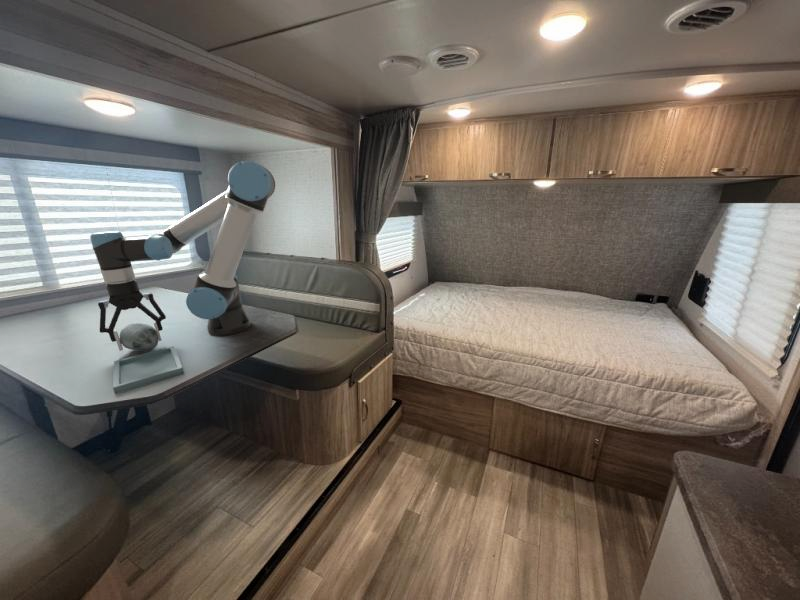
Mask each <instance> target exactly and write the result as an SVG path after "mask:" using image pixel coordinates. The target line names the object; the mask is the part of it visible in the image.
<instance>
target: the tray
mask: <svg viewBox="0 0 800 600" xmlns="http://www.w3.org/2000/svg"><path fill="white" fill-rule="evenodd" d="M113 361H114V362H113V383H112V385H113V386H112V388H113V391H114V394H115V395H117V394H121V393H124V392H128V391H130V390H134V389H137V388H140V387H144V386H147V385H150V384H153V383H157V382H160V381H163V380H167V379H170V378H173V377H177V376H180V375H183V374H184V373H185V372H184V369H183V365H182V363H181V360H180V358H179V354H178V352H177V350H176V348H175V346H174V345H173V346H169V347H165V348H159V349H157V350H153V351H148V352H145V353H141V354H138V355H133V356H130V357H126V358H122V359H117V360H113Z"/></svg>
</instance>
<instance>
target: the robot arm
mask: <svg viewBox="0 0 800 600" xmlns="http://www.w3.org/2000/svg"><path fill="white" fill-rule="evenodd" d="M275 180H276V179H275V178H274V176H273V174H272V173H271V171H269V169H268V168H266V167H265V166H263V165H262V164H260V163H258V162H255V161H253V160H252V161H251V160H242V161H239V162H237V163H235V164H234V165H232V166H231V167H230V169H229V171H228V176H227V182H228V186H227V189H226V190H225V191H223V192H221V193H220V194H218V195H216V197H214V198H212V199H211V200H209V201H208V202H206V203H205V204H203V205H202V206H200V207H199V208H197V209H195V210H193V211H192V212H190V213H189V214H187V215H186V216H183V218H181V219H180V220H178V221H176V222H175V223H173V224H172V225H170V226H169V227H167V228H165V229H164V230H162V231H160V232H159V233H155V234H151V235H145V236H133V237H125V236H124V235H123V233H122V232H121V231H113V230H112V231H100V232H94V233H91V235H90V242H91V246H92V250H93V251H94V254H95V257H96V260H97V262H98V266H99V268H100V272H101V274H102V279H103V281H104V283H106V284H105V287H106V291H107V293H108V296H109V299H106V300H99V301H98V302H97V303H98V304H97V306H98V307H99V310H100V315H99V316H100V318H99V333H100V334H101V333H102V334H103V333H106V334H108V335H109V339H110V341H111V342H112V343H114V342H116V344H117V347H118V350H119V351H120V352H121V351H123V350H124V349H123V348H124V346H123V345H122V344H121V341H120V334H119V333H118V330H117V329H115V327H116V324H117V322H118V321H119V317H120V315H121V312H122V311H127V310H130V309H131V310H132V309H136V308H138V309H139V310H141V312H143V313H144V314H146V315H147V316H148V317H150V318H151V319H152V320H153V325H154V329H155V330H156V332H157V334H158V339H159V340H158V342H160V341H162V337H161V334H160V331H163V326H162V321H163V320H165V319H166V318H167V317H166V315H165V313H164V312H163V310H162V309H161V307H160V306H159V304H158V303H157V302H156V300H155V298H154V295H153V293H152V292H147V293H142V292H141V291H140V288H139V284H138V281H137V280H136V279H135V278H136V276H135V275H136V274H135V272H134V269H133V266H132V263H133V262H146V261H156V262H157V261H161V260H169V259H171V258H172V255H173V254H176V253H178V252H180V250H181V249H182V248H184V247H185V246H187V245H188V244H190V243H191V242H193V241H195V240H196V239H197V238H198V237H200V236H202V235H203V234H205V233H207V232H208V231H210V230H211V229H213V228H215V227H216V226H217V225H219V224H220V223H221V225H220V226H219V227H220V228H219V231H218V233H217V236H216V239H215V242H214V245H213V247H212V251H211V254H210V256H209V259H208V263H207V266H206V268H205V270H204V271H201V272H199V273H198V275H197V278H196V281H195V284H194V286H193V288H192V289H191V290H190V291H189V293H188V294H187V296H186V299H185V304H186V307H187V309H188V310H189V312H190V313H191V314H192V315H194V316H196V317H197V318H200V319H203V320H208V321H207V325H206V326H207V327H206V328H207V332H208V334H209V335H211V336H218V337H219V336H220V337H221V336H229V335H234V334H238V333H240V332H243V331H246V330H248V329H249V328H250V327H251V326H252V325H251V319H250V317H249V316H248V314H247V312H246V311H245V309H244V307H243V301H242V297H241V290H240V286H239V278H238V275H237V269H238V267H239V265H240V261H241V259H242V256H243V253H244V250H245V247H246V245H247V242H248V240H249V237H250V234H251V231H252V228H253V225H254V223H255V220H256V218H257V215H258V214H261V213H263V212H264V210H265V208H266V205H267V202H268V199H269V198H271V196H272V195H274V192H275V189H276V181H275ZM144 298H145V300H147V301H149V303H150V304H151V305H152V307H153V309H155V311H156V313H157V314H158V316H157V315H156V314H155V313H154V312H152V310H150V309H149V308H147V307H146V306H145V305H144V304H143V303H141V302H142V300H143V299H144ZM110 304H111V305H112V306H114V307H116V308H115V311H114V313H113V315H112V318H111V321H110V322H109V326H108V327H106V321H107V320H106V318H107V317H106V315H107V308H108V307H109V305H110Z"/></svg>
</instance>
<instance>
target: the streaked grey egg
mask: <svg viewBox="0 0 800 600" xmlns="http://www.w3.org/2000/svg"><path fill="white" fill-rule="evenodd" d="M119 338H120V341H121V344H122V347H123V348H125V349H128V350H132V351H138V352H139V351H142V352H143V351H150V350H153V349H155V348H156V347H157V346H158V345H159V339H158V334H157V332H156V329H155V327H153V326H152V325H150V324H146V323H137V322H136V323H130V324H128V325H125V326H124V327H123V328H122V329H120V332H119Z"/></svg>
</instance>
